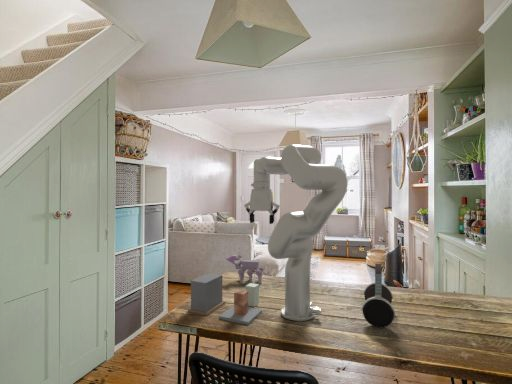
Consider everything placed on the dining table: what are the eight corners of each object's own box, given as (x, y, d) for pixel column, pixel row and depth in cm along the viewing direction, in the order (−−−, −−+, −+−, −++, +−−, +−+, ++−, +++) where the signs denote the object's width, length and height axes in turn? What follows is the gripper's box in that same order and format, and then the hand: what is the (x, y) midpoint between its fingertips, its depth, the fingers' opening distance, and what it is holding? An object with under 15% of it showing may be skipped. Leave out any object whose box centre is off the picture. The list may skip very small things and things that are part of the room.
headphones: (361, 326, 103) (361, 269, 103) (363, 305, 122) (363, 257, 122) (395, 332, 99) (395, 272, 99) (392, 309, 118) (392, 259, 118)
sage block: (258, 303, 125) (258, 284, 125) (254, 306, 121) (254, 287, 121) (250, 301, 126) (250, 283, 126) (245, 305, 123) (246, 285, 123)
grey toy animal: (222, 282, 152) (223, 256, 153) (228, 278, 163) (228, 253, 163) (261, 285, 149) (261, 257, 149) (264, 280, 159) (264, 254, 160)
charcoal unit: (225, 303, 124) (225, 275, 124) (207, 315, 112) (207, 283, 112) (206, 300, 128) (206, 272, 128) (187, 311, 116) (188, 280, 116)
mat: (262, 312, 115) (262, 309, 115) (248, 325, 104) (248, 322, 104) (234, 307, 120) (234, 304, 120) (219, 318, 109) (219, 316, 109)
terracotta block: (248, 311, 113) (248, 290, 113) (243, 315, 110) (243, 294, 110) (238, 310, 115) (238, 289, 115) (233, 314, 111) (234, 292, 111)
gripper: (241, 185, 137) (241, 223, 137) (276, 185, 130) (276, 224, 130) (248, 186, 144) (248, 221, 144) (282, 186, 137) (282, 223, 137)
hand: (261, 223), depth 137 cm, fingers open, 9 cm apart
